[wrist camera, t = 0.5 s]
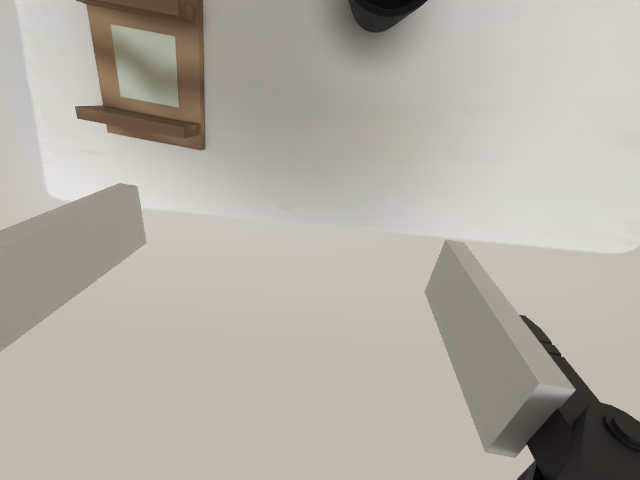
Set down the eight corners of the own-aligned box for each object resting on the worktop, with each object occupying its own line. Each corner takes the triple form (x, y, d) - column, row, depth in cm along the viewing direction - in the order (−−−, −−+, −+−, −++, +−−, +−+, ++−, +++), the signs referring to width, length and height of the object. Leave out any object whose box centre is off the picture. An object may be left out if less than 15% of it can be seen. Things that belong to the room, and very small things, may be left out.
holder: (88, -31, 29) (41, -54, 25) (202, -10, 29) (176, -29, 25) (113, 131, 37) (81, 136, 32) (205, 148, 37) (185, 156, 32)
